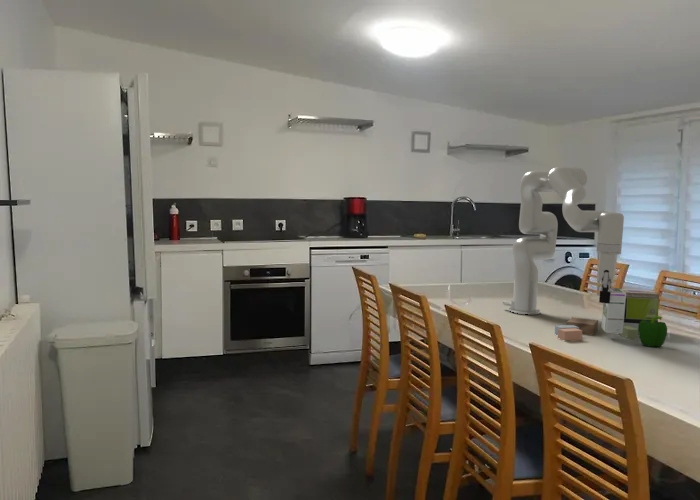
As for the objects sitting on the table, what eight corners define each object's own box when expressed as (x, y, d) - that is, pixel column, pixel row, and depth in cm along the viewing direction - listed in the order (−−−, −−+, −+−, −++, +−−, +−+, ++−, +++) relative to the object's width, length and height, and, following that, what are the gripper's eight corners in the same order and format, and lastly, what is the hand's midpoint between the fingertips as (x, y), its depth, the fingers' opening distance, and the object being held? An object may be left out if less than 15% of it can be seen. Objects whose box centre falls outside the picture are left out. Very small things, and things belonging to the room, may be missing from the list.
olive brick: (637, 339, 192) (638, 329, 192) (627, 339, 193) (627, 329, 192) (628, 334, 199) (628, 325, 199) (618, 334, 200) (618, 325, 199)
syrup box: (623, 334, 190) (627, 292, 187) (604, 332, 191) (608, 291, 188) (618, 328, 195) (622, 288, 192) (600, 327, 196) (604, 287, 193)
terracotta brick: (564, 341, 188) (564, 331, 188) (557, 339, 191) (558, 329, 191) (581, 340, 190) (582, 330, 190) (574, 338, 193) (575, 328, 193)
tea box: (652, 329, 208) (654, 289, 207) (657, 335, 199) (660, 294, 198) (608, 325, 213) (610, 287, 212) (611, 331, 204) (613, 291, 202)
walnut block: (566, 332, 202) (566, 321, 202) (571, 327, 210) (572, 317, 210) (593, 336, 198) (593, 324, 197) (597, 331, 205) (598, 320, 205)
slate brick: (559, 337, 194) (560, 327, 193) (554, 335, 197) (555, 325, 197) (578, 337, 195) (579, 327, 194) (573, 334, 198) (573, 325, 198)
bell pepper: (631, 344, 185) (633, 314, 185) (646, 341, 189) (648, 312, 189) (655, 350, 178) (657, 319, 177) (671, 347, 182) (673, 316, 181)
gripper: (598, 246, 199) (595, 295, 201) (594, 250, 184) (590, 304, 186) (622, 247, 196) (618, 298, 198) (620, 252, 180) (615, 307, 182)
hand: (605, 300), depth 192 cm, fingers closed on syrup box, 6 cm apart
